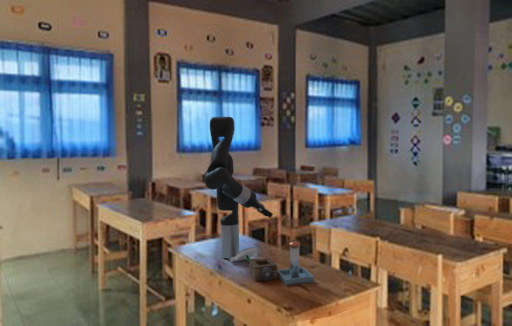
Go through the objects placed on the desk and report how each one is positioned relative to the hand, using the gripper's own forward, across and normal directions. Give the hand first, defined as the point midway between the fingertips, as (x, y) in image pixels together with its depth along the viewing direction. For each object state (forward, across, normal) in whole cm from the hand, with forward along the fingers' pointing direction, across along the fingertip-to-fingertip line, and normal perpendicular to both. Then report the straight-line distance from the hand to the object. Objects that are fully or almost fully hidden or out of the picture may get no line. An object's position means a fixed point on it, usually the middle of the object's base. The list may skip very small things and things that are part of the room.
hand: (266, 211), depth 185 cm
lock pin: (+16, -22, +14) cm, 31 cm away
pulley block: (+10, -14, +23) cm, 29 cm away
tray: (+16, -23, +15) cm, 32 cm away
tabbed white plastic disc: (+17, +7, +28) cm, 33 cm away
